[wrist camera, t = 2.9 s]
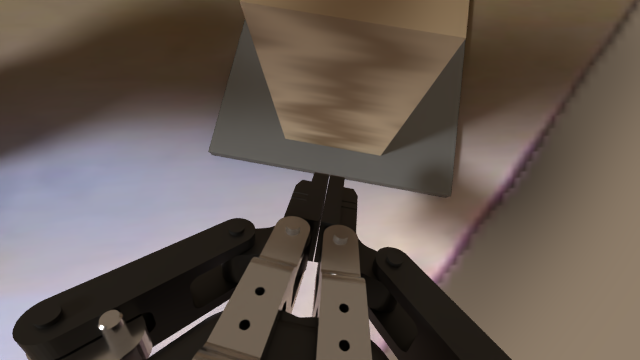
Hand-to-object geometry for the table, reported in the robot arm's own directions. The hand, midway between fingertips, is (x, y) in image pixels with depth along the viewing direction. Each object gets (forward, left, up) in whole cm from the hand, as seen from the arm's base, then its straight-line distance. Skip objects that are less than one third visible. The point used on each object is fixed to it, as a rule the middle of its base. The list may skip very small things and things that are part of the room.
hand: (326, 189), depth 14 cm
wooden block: (0, +6, -9) cm, 11 cm away
